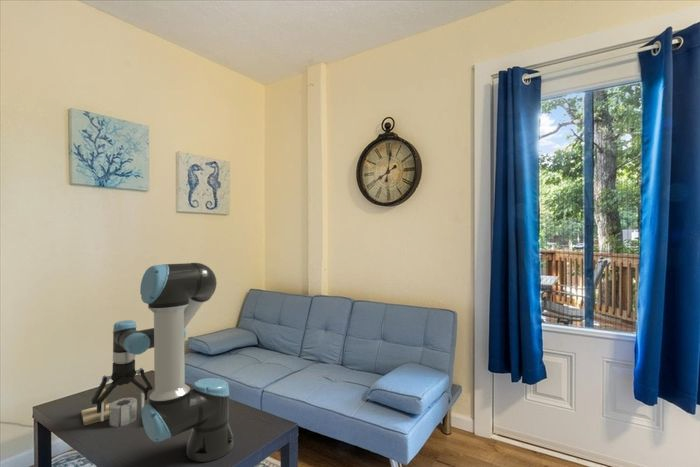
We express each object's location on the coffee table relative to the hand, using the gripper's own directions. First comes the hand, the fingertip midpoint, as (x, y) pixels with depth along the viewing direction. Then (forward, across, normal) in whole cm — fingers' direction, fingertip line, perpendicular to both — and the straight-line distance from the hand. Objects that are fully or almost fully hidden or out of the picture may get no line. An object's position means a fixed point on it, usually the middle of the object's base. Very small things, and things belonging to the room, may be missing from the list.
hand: (122, 413), depth 139 cm
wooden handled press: (+3, +6, -11) cm, 13 cm away
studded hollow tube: (+2, 0, 0) cm, 3 cm away
